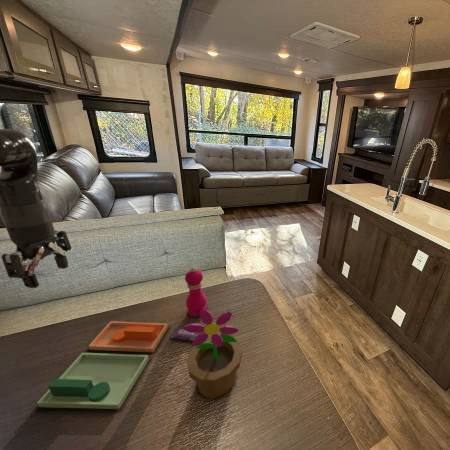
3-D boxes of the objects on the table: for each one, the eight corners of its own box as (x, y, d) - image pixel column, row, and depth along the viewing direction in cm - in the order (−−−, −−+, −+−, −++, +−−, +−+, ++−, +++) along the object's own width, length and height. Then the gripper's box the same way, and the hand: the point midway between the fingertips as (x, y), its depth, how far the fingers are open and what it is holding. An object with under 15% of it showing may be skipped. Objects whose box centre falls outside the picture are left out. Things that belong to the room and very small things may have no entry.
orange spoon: (109, 342, 79) (107, 333, 78) (118, 331, 83) (116, 322, 82) (151, 343, 80) (150, 335, 78) (158, 333, 84) (157, 324, 82)
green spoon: (114, 385, 67) (111, 376, 66) (102, 402, 63) (99, 392, 62) (63, 383, 66) (59, 374, 65) (48, 401, 62) (43, 391, 61)
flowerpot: (186, 412, 63) (173, 323, 52) (193, 362, 76) (184, 282, 64) (243, 399, 67) (243, 315, 56) (240, 354, 80) (240, 277, 68)
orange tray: (89, 351, 76) (87, 346, 75) (111, 325, 86) (110, 321, 85) (153, 353, 77) (152, 348, 77) (168, 328, 87) (167, 323, 86)
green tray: (39, 408, 61) (36, 403, 60) (83, 357, 74) (82, 352, 73) (119, 410, 62) (117, 405, 61) (149, 360, 75) (148, 355, 75)
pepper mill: (185, 319, 91) (180, 274, 83) (188, 305, 98) (183, 262, 90) (206, 316, 93) (203, 272, 85) (207, 303, 100) (204, 261, 92)
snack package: (169, 335, 82) (177, 324, 86) (170, 340, 82) (178, 328, 87) (203, 340, 81) (209, 328, 86) (204, 344, 82) (210, 332, 87)
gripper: (39, 208, 64) (58, 261, 71) (-25, 231, 51) (4, 293, 58) (70, 210, 65) (85, 263, 71) (13, 233, 52) (38, 295, 58)
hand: (49, 276), depth 64 cm, fingers open, 8 cm apart
